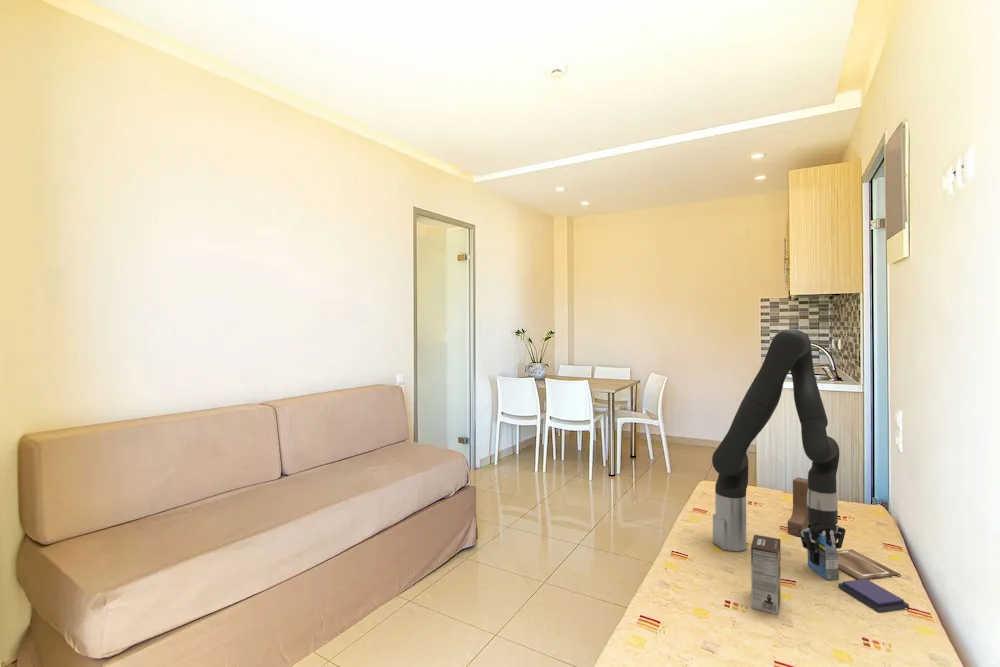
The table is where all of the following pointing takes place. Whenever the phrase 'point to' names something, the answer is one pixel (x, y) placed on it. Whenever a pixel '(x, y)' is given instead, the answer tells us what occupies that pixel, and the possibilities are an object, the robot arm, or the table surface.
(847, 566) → the walnut board
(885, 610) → the ink pad
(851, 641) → the table surface
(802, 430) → the robot arm
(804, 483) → the wooden block
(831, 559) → the label tape box
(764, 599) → the coffee box
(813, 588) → the table surface
